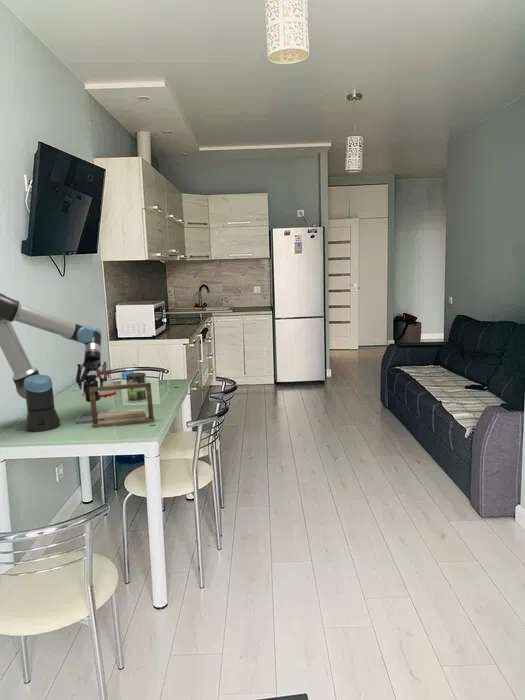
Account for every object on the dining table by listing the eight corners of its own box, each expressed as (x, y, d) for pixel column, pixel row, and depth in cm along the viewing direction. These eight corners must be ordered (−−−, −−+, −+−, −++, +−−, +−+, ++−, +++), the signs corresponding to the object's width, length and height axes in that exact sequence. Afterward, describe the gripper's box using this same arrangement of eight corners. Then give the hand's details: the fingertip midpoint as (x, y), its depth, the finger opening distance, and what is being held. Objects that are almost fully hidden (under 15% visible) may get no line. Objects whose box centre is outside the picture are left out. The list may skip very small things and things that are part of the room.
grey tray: (105, 421, 254) (105, 418, 253) (76, 424, 252) (75, 420, 252) (109, 414, 267) (108, 411, 266) (81, 416, 265) (80, 413, 264)
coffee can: (141, 402, 287) (138, 376, 285) (124, 402, 291) (122, 376, 289) (151, 398, 297) (149, 372, 295) (135, 397, 300) (132, 372, 298)
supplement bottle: (88, 399, 262) (85, 374, 260) (102, 398, 262) (99, 373, 260) (83, 402, 255) (80, 377, 253) (97, 401, 255) (95, 376, 253)
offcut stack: (145, 420, 247) (144, 411, 247) (97, 424, 245) (96, 415, 244) (146, 417, 253) (145, 408, 252) (99, 421, 250) (98, 412, 249)
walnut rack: (153, 422, 248) (150, 384, 245) (92, 427, 244) (88, 389, 242) (154, 418, 254) (150, 381, 251) (94, 424, 250) (90, 386, 248)
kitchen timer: (119, 394, 309) (117, 369, 307) (95, 399, 302) (92, 372, 299) (111, 391, 321) (108, 366, 318) (87, 395, 313) (85, 369, 311)
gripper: (114, 357, 272) (113, 396, 259) (73, 360, 269) (70, 400, 256) (111, 348, 266) (111, 387, 253) (70, 351, 263) (67, 391, 250)
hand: (90, 393), depth 254 cm, fingers closed on supplement bottle, 7 cm apart
